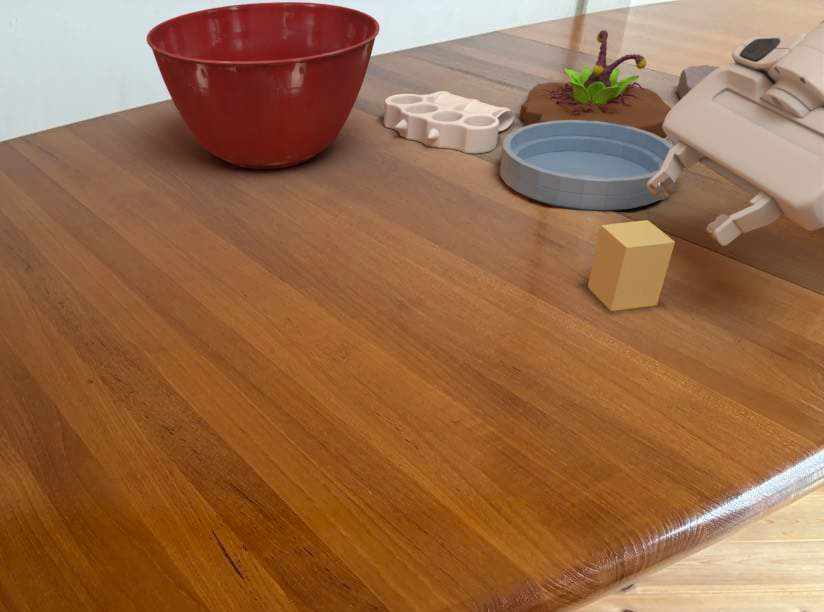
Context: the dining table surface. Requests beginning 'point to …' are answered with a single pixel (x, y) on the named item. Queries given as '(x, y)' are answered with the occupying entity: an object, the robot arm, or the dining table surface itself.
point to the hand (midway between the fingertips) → (681, 214)
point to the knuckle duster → (447, 121)
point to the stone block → (692, 78)
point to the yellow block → (630, 264)
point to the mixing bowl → (265, 77)
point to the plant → (598, 97)
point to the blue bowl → (583, 164)
